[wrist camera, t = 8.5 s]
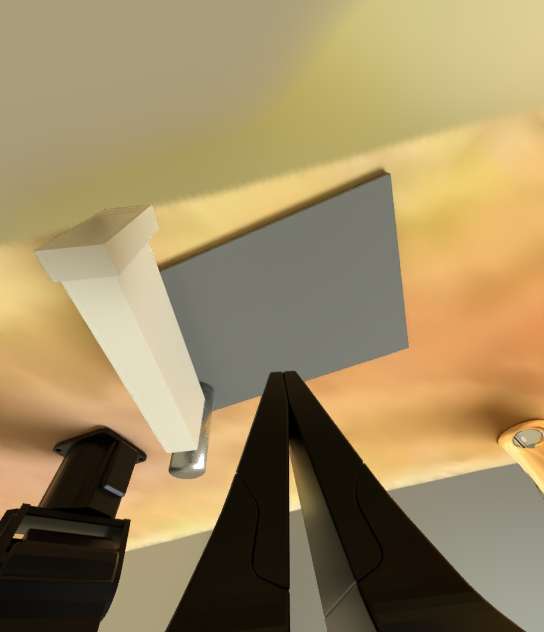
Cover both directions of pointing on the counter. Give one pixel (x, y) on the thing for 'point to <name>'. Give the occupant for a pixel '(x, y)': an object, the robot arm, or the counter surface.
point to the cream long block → (131, 316)
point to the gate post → (195, 460)
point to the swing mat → (294, 295)
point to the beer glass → (527, 449)
